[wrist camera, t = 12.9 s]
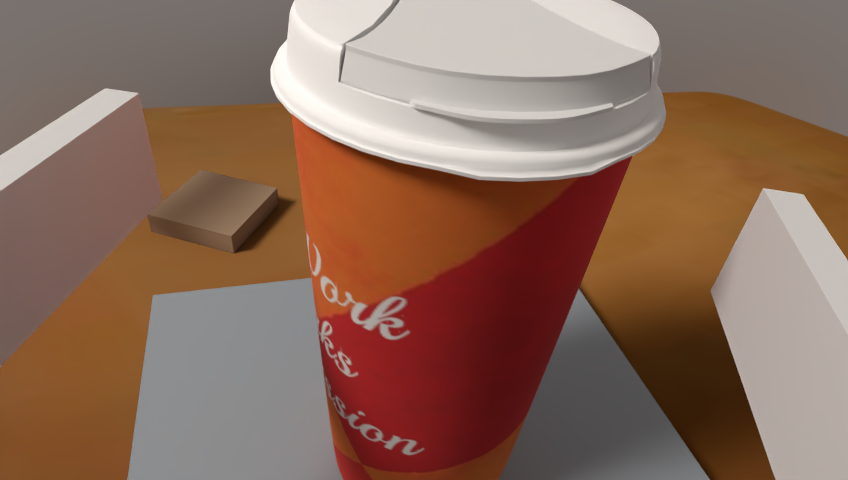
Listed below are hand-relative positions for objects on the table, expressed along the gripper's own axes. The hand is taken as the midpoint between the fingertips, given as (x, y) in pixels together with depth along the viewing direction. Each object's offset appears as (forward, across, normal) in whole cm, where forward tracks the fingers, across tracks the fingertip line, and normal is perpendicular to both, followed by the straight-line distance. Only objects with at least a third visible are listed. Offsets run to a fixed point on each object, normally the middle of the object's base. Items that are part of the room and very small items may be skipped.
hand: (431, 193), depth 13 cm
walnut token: (+12, -12, -12) cm, 21 cm away
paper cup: (0, 0, -10) cm, 10 cm away
